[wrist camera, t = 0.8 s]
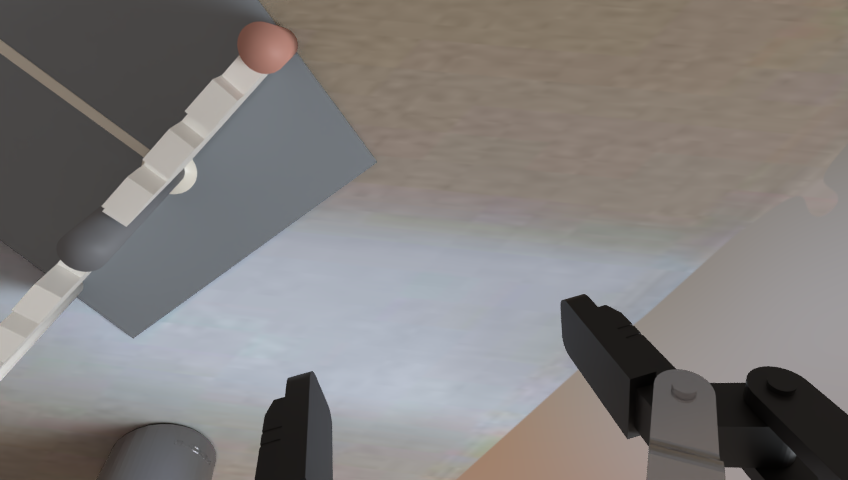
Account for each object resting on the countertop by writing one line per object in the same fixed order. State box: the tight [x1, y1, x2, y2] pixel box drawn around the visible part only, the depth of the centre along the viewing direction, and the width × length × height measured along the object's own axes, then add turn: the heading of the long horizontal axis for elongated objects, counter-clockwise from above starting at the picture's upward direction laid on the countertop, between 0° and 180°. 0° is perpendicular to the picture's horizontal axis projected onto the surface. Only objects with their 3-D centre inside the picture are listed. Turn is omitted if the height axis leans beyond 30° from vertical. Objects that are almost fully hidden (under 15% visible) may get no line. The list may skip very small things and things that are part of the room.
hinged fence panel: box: [102, 21, 298, 227], centre depth 25 cm, size 12×2×14 cm, turn 133°
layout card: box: [0, 0, 377, 338], centre depth 31 cm, size 25×25×1 cm
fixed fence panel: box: [0, 169, 185, 381], centre depth 27 cm, size 14×2×14 cm, turn 133°
